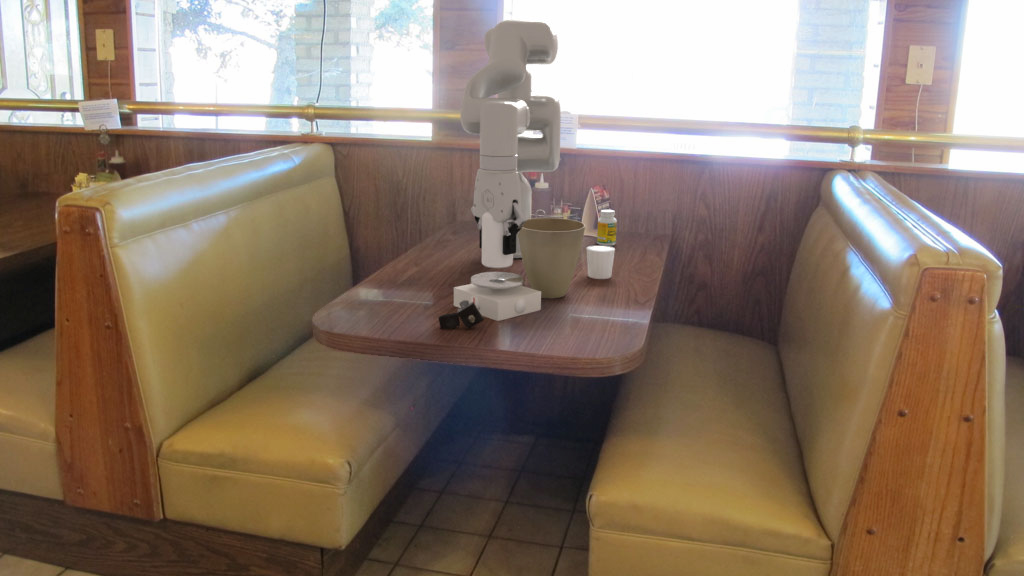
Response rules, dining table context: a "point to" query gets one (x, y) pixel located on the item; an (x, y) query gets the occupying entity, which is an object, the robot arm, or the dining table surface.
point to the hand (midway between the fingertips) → (497, 250)
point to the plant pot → (550, 253)
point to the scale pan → (497, 280)
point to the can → (494, 243)
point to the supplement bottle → (607, 228)
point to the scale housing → (499, 300)
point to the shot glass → (600, 261)
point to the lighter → (462, 316)
